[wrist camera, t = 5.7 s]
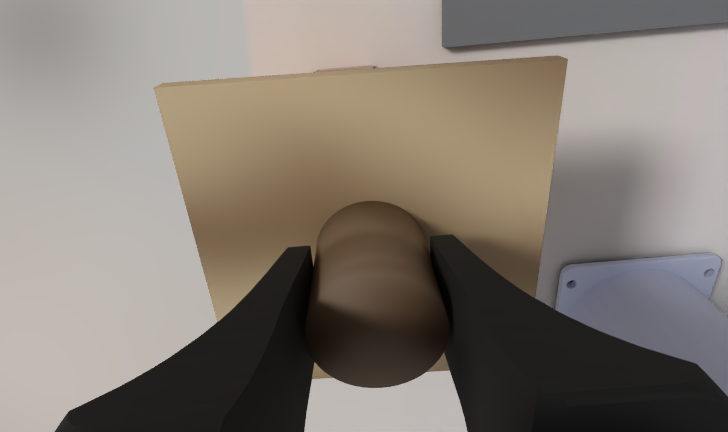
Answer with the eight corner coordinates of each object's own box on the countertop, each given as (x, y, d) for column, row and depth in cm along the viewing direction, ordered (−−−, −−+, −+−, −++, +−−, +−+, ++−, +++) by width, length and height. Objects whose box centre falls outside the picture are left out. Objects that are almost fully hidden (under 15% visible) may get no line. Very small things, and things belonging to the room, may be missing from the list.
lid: (519, 352, 16) (570, 465, 12) (238, 370, 16) (203, 488, 12) (557, 55, 11) (657, 90, 8) (163, 83, 11) (70, 131, 8)
